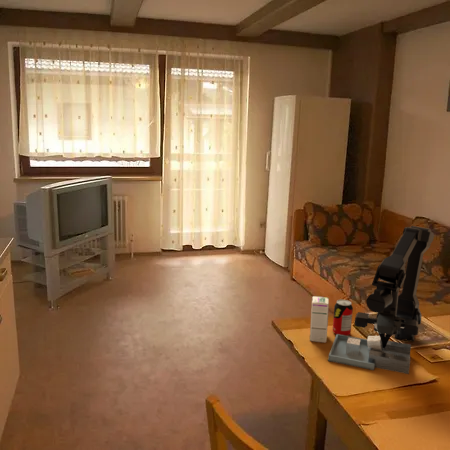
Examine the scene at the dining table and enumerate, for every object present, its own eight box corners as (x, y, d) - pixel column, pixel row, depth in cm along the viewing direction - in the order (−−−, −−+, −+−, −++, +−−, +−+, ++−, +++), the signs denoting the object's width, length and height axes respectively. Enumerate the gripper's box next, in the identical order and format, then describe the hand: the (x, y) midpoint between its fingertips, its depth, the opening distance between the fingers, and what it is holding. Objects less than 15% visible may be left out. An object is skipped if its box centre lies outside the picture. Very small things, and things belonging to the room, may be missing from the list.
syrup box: (326, 343, 164) (329, 303, 160) (309, 341, 165) (311, 301, 161) (326, 335, 169) (329, 297, 166) (309, 333, 170) (312, 295, 167)
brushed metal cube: (359, 350, 158) (347, 348, 160) (360, 339, 157) (348, 337, 159) (358, 356, 155) (345, 353, 156) (359, 345, 154) (346, 342, 155)
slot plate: (371, 348, 161) (372, 337, 160) (409, 355, 156) (410, 344, 156) (367, 365, 150) (369, 354, 149) (408, 374, 146) (410, 362, 145)
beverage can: (347, 329, 174) (350, 298, 171) (352, 337, 168) (355, 306, 165) (330, 329, 174) (332, 298, 171) (334, 337, 168) (337, 305, 165)
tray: (336, 339, 167) (336, 333, 166) (378, 347, 162) (378, 341, 161) (328, 360, 152) (328, 355, 152) (373, 370, 147) (374, 364, 147)
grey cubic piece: (369, 347, 157) (368, 335, 156) (382, 347, 155) (380, 335, 154) (368, 352, 153) (367, 341, 152) (381, 353, 151) (380, 341, 151)
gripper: (354, 307, 145) (351, 354, 149) (420, 316, 139) (415, 365, 142) (358, 294, 155) (354, 339, 159) (419, 302, 149) (415, 348, 152)
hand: (383, 348), depth 153 cm, fingers closed
